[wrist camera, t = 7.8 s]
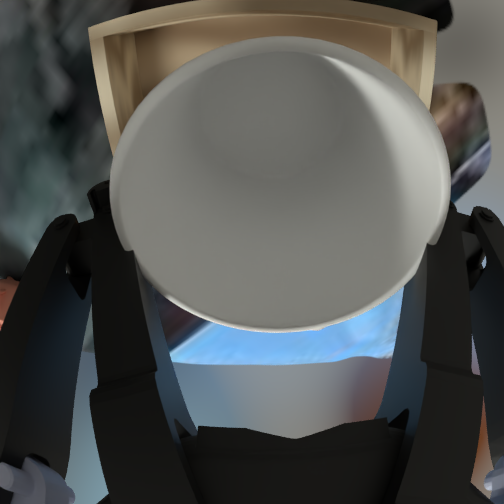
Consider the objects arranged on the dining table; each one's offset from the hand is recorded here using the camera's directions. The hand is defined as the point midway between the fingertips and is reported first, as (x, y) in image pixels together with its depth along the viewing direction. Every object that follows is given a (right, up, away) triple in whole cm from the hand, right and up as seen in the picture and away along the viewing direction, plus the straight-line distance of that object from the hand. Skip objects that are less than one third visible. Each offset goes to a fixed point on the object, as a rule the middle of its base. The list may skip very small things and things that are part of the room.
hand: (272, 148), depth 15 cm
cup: (0, +1, +1) cm, 1 cm away
